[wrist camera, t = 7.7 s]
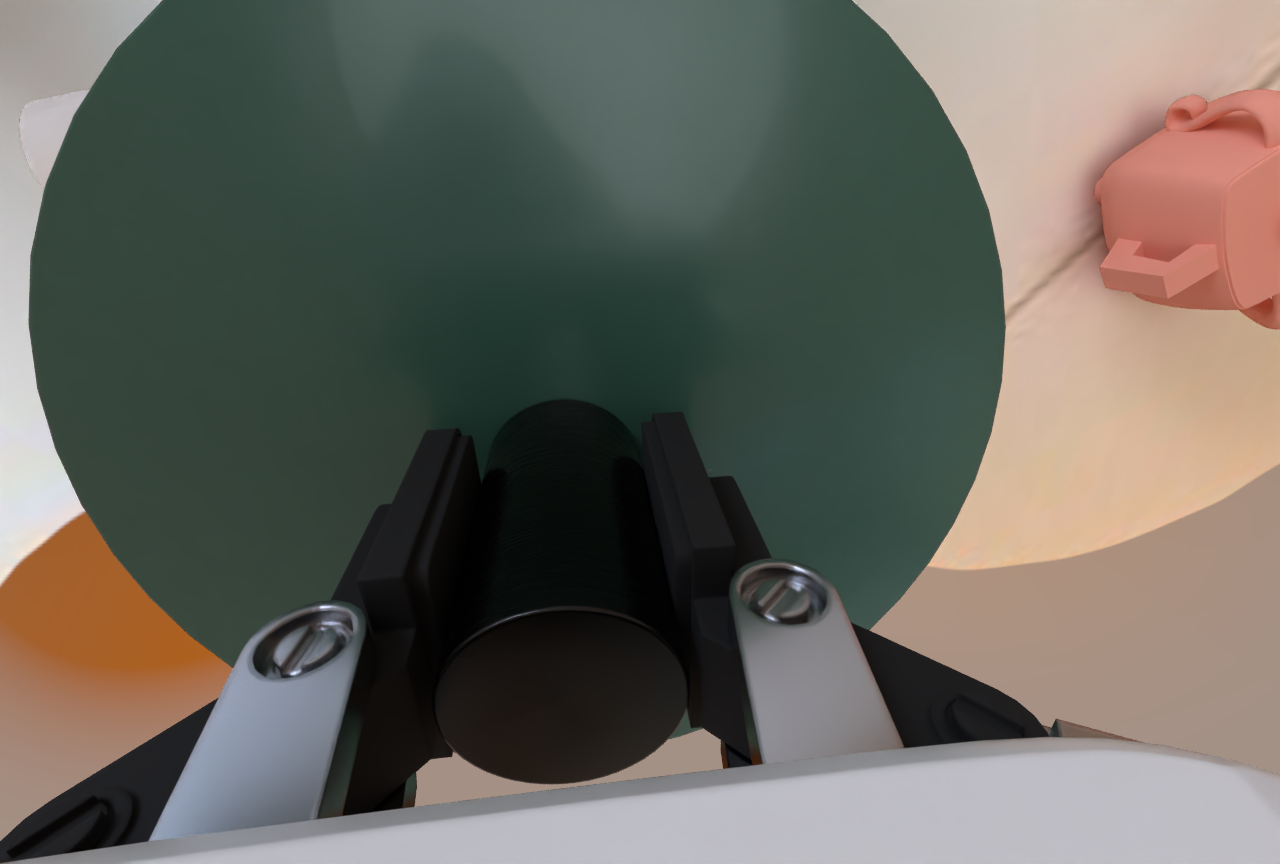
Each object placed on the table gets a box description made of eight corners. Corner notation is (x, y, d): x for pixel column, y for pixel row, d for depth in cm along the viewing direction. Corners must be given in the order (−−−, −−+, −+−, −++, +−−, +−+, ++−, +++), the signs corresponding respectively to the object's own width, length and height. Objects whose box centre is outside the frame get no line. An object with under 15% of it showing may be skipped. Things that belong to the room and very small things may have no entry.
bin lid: (263, 754, 16) (89, 1113, 10) (-166, -102, 8) (-2306, -770, 2) (893, 681, 18) (1057, 959, 12) (1083, -102, 9) (1947, -484, 4)
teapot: (1289, 116, 36) (1518, 113, 27) (1167, 306, 41) (1327, 353, 32) (1141, 56, 33) (1342, 32, 25) (1029, 266, 38) (1165, 306, 30)
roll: (371, 184, 32) (336, 195, 27) (148, 227, 32) (71, 247, 27) (324, 54, 29) (275, 39, 24) (79, 100, 29) (-22, 96, 24)
